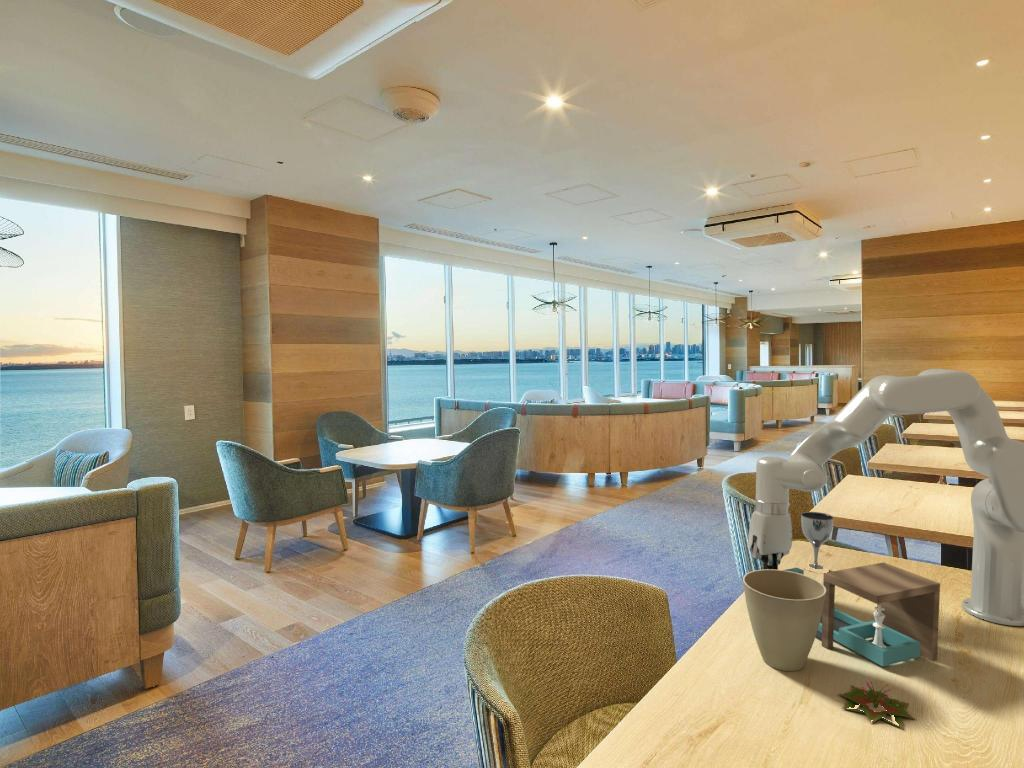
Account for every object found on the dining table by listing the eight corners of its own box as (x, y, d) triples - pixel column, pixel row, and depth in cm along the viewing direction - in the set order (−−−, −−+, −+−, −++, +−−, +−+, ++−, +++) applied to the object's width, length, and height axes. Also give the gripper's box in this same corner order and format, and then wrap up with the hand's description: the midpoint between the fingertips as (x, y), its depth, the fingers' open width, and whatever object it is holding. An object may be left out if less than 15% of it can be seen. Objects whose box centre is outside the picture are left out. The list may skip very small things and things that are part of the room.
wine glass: (832, 566, 166) (834, 514, 165) (830, 575, 160) (832, 521, 159) (801, 561, 171) (803, 510, 170) (798, 570, 164) (799, 517, 163)
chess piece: (896, 659, 117) (898, 611, 117) (869, 657, 118) (871, 609, 118) (886, 647, 122) (887, 600, 121) (860, 645, 123) (861, 598, 122)
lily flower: (843, 682, 111) (843, 658, 110) (920, 706, 103) (921, 680, 103) (829, 713, 101) (830, 687, 101) (913, 742, 94) (914, 714, 93)
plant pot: (759, 635, 127) (761, 563, 126) (834, 661, 117) (837, 583, 116) (728, 661, 117) (729, 583, 116) (807, 692, 106) (809, 607, 105)
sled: (796, 595, 146) (797, 567, 146) (919, 657, 117) (921, 622, 117) (764, 601, 143) (764, 573, 142) (882, 666, 114) (884, 631, 113)
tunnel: (838, 610, 139) (840, 546, 138) (936, 659, 117) (940, 583, 116) (781, 622, 133) (782, 555, 132) (873, 675, 112) (876, 596, 111)
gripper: (784, 500, 152) (782, 569, 154) (736, 506, 147) (735, 577, 149) (807, 508, 145) (805, 580, 147) (758, 514, 140) (757, 589, 142)
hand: (770, 579), depth 148 cm, fingers closed
